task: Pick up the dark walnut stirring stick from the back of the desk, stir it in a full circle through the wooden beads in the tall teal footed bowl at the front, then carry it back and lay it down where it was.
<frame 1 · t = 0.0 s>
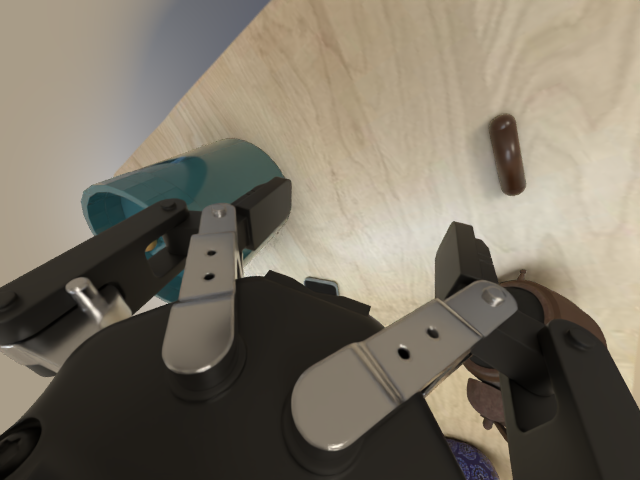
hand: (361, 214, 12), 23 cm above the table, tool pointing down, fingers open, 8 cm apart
bowl: (245, 191, 44), on the table
stick: (505, 154, 27), on the table
bead b: (145, 242, 33), point 17 cm above the table, touching bowl
smartphone: (325, 302, 54), on the table
planter 2: (460, 447, 69), on the table
alarm clock: (501, 290, 37), on the table
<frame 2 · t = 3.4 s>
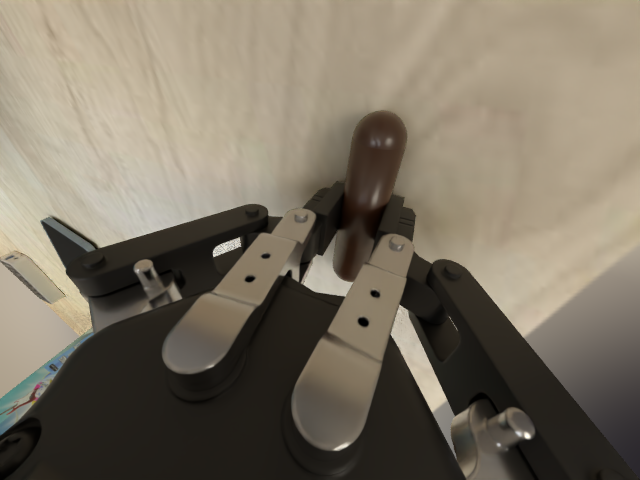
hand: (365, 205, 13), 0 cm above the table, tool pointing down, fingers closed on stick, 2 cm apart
stick: (361, 202, 13), on the table, tilted 17°, touching gripper
multiport hub: (42, 274, 47), on the table
smartphone: (88, 263, 34), on the table
game box: (145, 337, 46), on the table
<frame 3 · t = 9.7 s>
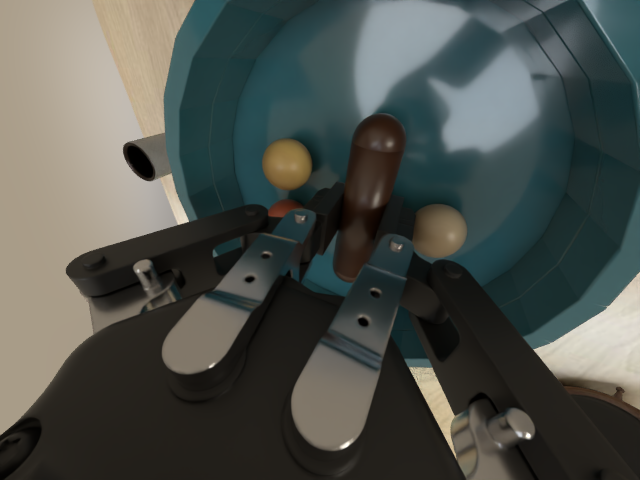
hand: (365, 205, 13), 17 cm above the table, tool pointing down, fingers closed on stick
bowl: (397, 134, 25), on the table
stick: (360, 203, 13), point 17 cm above the table, tilted 17°, touching gripper
bead a: (435, 230, 12), point 17 cm above the table, touching bowl, gripper
bead b: (287, 165, 13), point 17 cm above the table, touching bowl
bead c: (287, 220, 15), point 17 cm above the table, touching bowl
planter: (204, 140, 36), on the table
alarm clock: (571, 386, 36), on the table
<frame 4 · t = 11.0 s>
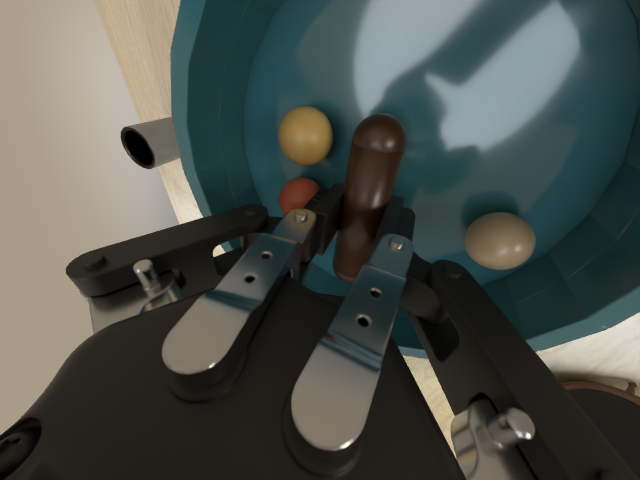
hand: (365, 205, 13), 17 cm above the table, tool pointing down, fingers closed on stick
bowl: (410, 119, 24), on the table
stick: (361, 203, 13), point 17 cm above the table, tilted 17°, touching gripper
bead a: (497, 241, 11), point 17 cm above the table, tilted 90°, touching bowl
bead b: (306, 137, 11), point 17 cm above the table, touching bowl
bead c: (301, 200, 14), point 17 cm above the table, touching bowl, gripper
planter: (205, 128, 34), on the table
alarm clock: (581, 381, 35), on the table
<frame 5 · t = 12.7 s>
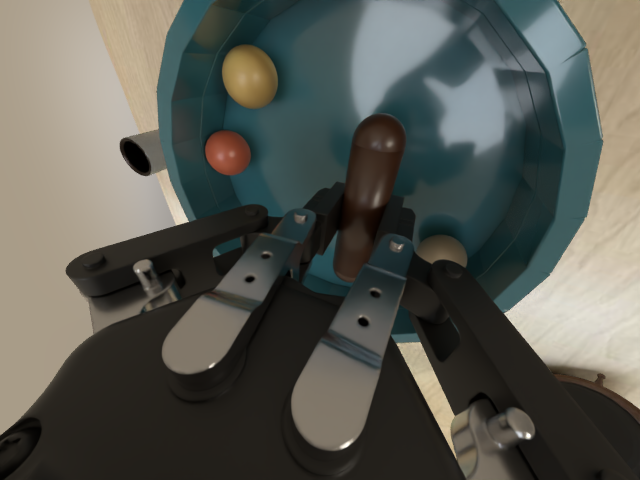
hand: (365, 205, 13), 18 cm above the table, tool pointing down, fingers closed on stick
bowl: (385, 130, 26), on the table
stick: (361, 203, 13), point 18 cm above the table, tilted 17°, touching gripper
bead a: (440, 257, 13), point 17 cm above the table, tilted 138°, touching bowl
bead b: (250, 78, 12), point 17 cm above the table, tilted 158°, touching bowl
bead c: (228, 153, 15), point 17 cm above the table, tilted 169°, touching bowl
planter: (199, 137, 36), on the table
alarm clock: (556, 374, 37), on the table
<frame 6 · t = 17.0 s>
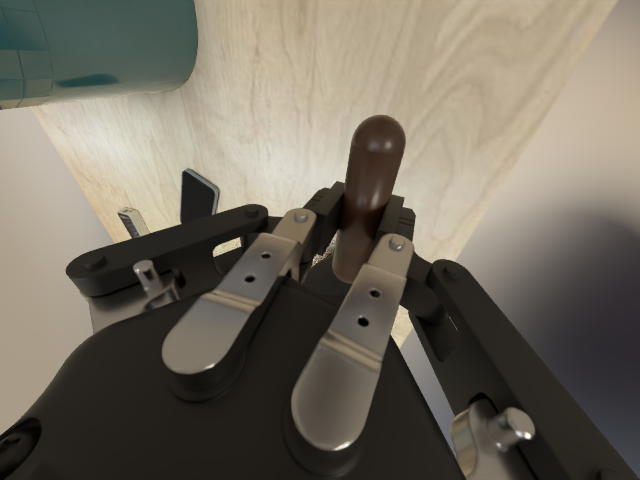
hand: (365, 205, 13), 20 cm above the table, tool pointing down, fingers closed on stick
bowl: (136, 6, 31), on the table
stick: (360, 204, 13), point 19 cm above the table, tilted 17°, touching gripper
multiport hub: (142, 227, 62), on the table
smartphone: (200, 206, 48), on the table
alarm clock: (354, 256, 41), on the table
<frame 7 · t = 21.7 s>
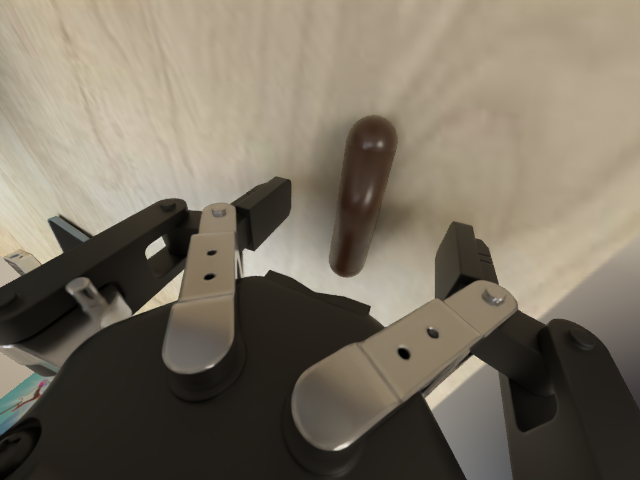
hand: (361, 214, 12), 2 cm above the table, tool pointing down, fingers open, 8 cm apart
stick: (359, 202, 14), on the table, tilted 6°
multiport hub: (46, 272, 47), on the table
smartphone: (93, 261, 34), on the table
game box: (148, 336, 46), on the table
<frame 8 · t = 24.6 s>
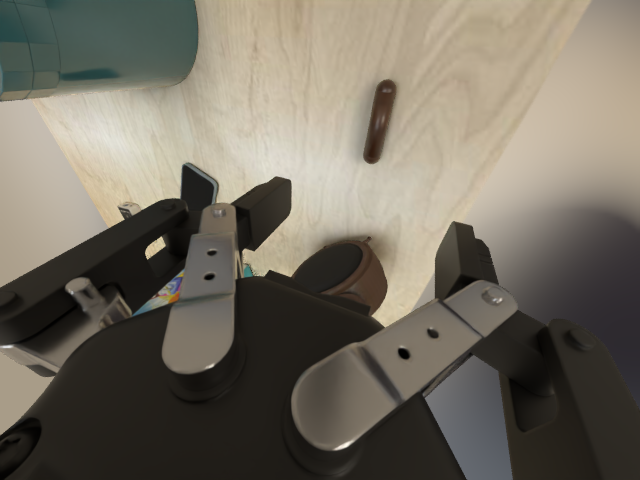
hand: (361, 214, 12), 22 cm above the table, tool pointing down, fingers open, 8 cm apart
bowl: (139, 3, 32), on the table
stick: (383, 128, 28), point 2 cm above the table, tilted 135°
multiport hub: (142, 221, 63), on the table
smartphone: (199, 200, 50), on the table
game box: (220, 267, 61), on the table
alarm clock: (349, 248, 42), on the table
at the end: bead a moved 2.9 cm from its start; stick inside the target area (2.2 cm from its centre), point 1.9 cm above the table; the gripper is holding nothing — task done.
